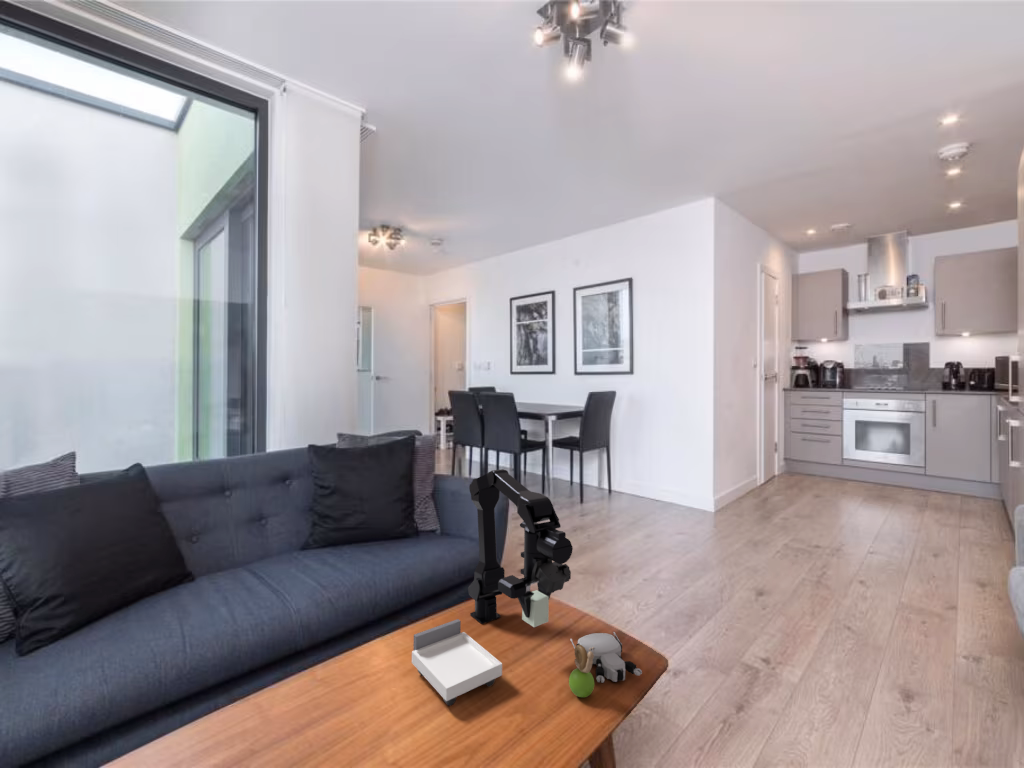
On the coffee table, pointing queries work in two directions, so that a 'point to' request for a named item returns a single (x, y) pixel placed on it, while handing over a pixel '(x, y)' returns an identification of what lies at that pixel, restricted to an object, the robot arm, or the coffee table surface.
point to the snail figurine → (582, 673)
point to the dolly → (453, 661)
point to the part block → (537, 609)
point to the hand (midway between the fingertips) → (535, 614)
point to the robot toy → (607, 656)
